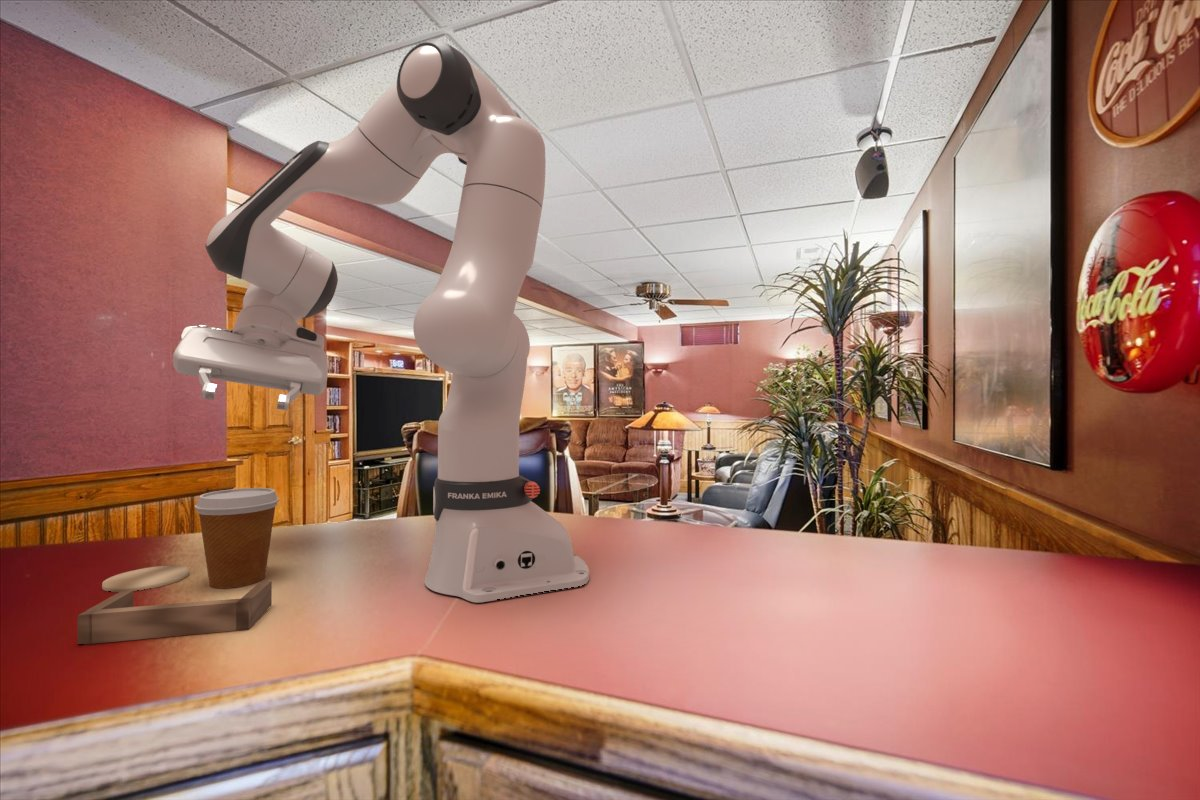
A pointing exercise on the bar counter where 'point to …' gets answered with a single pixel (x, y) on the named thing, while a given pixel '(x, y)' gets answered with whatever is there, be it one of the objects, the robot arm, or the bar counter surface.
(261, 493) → the disposable coffee cup
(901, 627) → the bar counter surface
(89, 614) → the walnut bay
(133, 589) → the cork coaster
